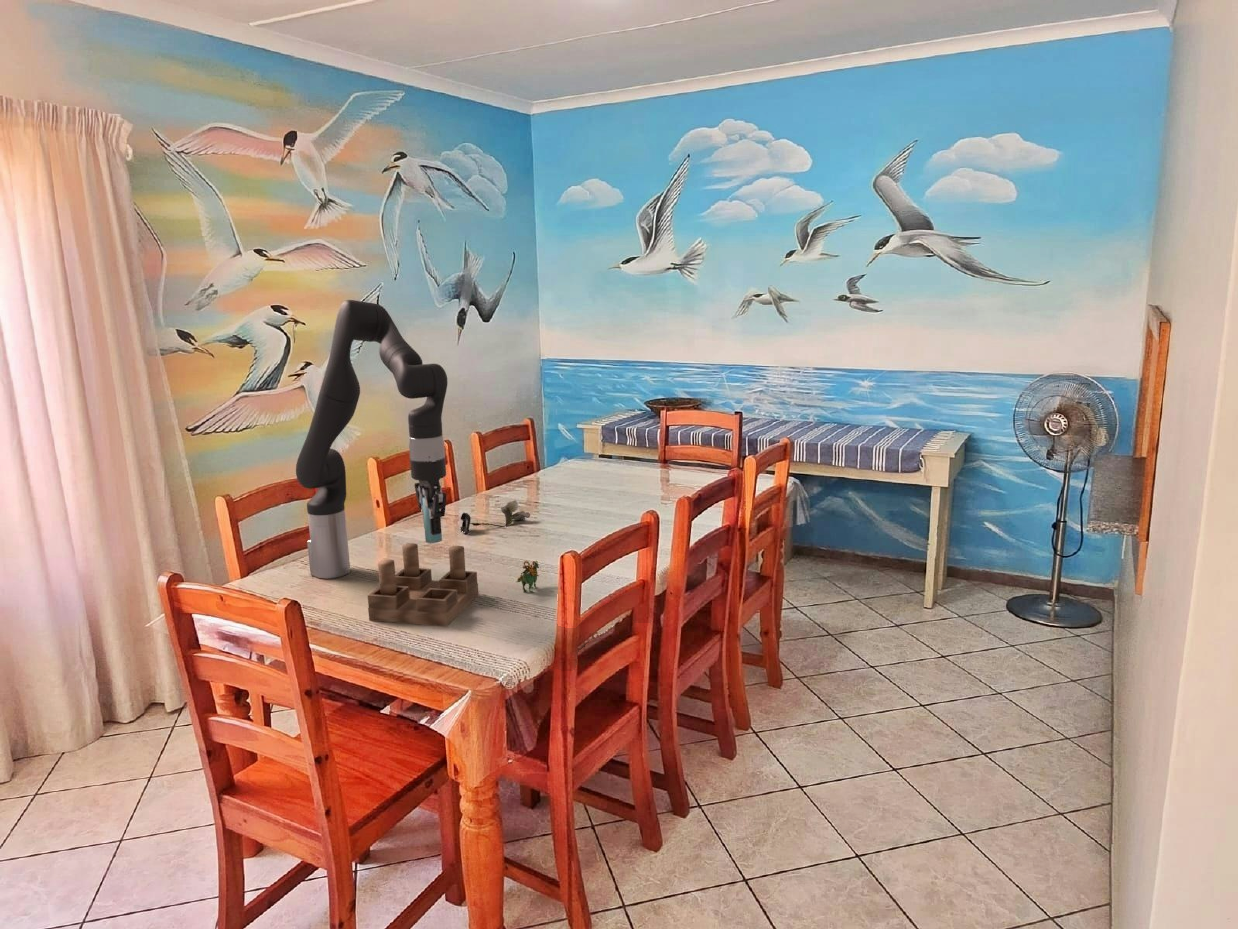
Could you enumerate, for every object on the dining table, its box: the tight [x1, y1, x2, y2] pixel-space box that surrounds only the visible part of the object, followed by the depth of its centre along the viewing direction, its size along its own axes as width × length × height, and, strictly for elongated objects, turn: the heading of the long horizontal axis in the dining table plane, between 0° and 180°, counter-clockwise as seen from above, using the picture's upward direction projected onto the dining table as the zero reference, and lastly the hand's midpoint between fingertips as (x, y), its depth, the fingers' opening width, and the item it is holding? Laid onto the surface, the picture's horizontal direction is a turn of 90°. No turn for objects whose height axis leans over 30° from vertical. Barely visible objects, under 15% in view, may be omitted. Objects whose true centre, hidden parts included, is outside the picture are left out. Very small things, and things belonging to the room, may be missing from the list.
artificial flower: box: [459, 499, 531, 535], centre depth 256 cm, size 9×22×10 cm, turn 121°
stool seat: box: [367, 542, 480, 627], centre depth 192 cm, size 19×19×13 cm
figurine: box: [515, 560, 540, 594], centre depth 201 cm, size 3×12×8 cm, turn 160°
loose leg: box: [422, 497, 443, 544], centre depth 181 cm, size 4×4×10 cm
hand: (432, 531), depth 182 cm, fingers closed on loose leg, 3 cm apart
